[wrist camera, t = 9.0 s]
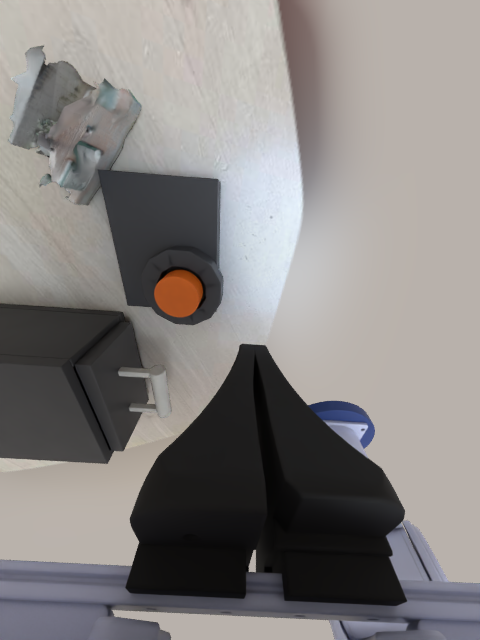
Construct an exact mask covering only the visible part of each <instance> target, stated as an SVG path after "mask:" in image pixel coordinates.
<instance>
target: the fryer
mask: <svg viewBox="0 0 480 640" xmlns="http://www.w3.org/2000/svg"><path fill="white" fill-rule="evenodd" d="M119 322H125V320H124V315H123V312H112V311H98V310H84V309H69V308H55V307H41V306H26V305H12V304H0V458H15V459H32V460H50V461H68V462H85V463H104V464H105V463H106V464H108V462H109V460H110V458H111V456H112V453H113V452H114V451H112V450H111V448H110V446H109V443H108V441H107V439H106V437H105V434H102V432H101V430H100V427H99V425H98V423H97V421H96V418H95V416H94V414H93V412H92V409H91V407H90V405H89V403H88V400H87V398H86V396H85V394H84V391H83V389H82V387H81V385H80V382H79V380H78V378H77V376H76V373H75V371H74V369H73V367H74V366H75V365H74V364H75V363H76V362H77V361H78V360H80V359H81V358H82V357H83V356H84V355H85V354H86V353H87V352H88V351H89V350H90V349H91V348H92V347H93V346H94V345H96V344H97V343H98V342H99V341H100V340H101V339H102V338H103V337H104V336H105V335H106V334H107V333H108V332H109V331H110V330H111V329H113V328H114V327H115V326H116V325H117V324H118V323H119Z"/></svg>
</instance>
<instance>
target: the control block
mask: <svg viewBox="0 0 480 640" xmlns="http://www.w3.org/2000/svg"><path fill="white" fill-rule="evenodd" d="M98 174H99V178H100V183H101V187H102V192H103V196H104V200H105V205H106V209H107V214H108V218H109V223H110V227H111V232H112V236H113V241H114V245H115V250H116V254H117V259H118V263H119V268H120V272H121V277H122V281H123V286H124V290H125V295H126V299H127V304H128V305H129V306H143V307H152V308H153V310H154V311H155V312H156V313H157V314H158V315H160V316H161V317H163V318H165V319H167V320H169V321H171V322H173V323H175V324H185V325H195V324H197V323H200V322H202V321H204V320H207V319H209V318H211V317H212V315H213V314H214V312H216V310H217V308H218V306H219V305H220V303H221V300H222V295H223V276H222V274H221V272H220V270H219V241H220V187H221V182H220V181H219V180H218V179H208V178H196V177H183V176H171V175H159V174H147V173H134V172H122V171H110V170H98ZM173 270H186V271H189V272H191V273H193V274H194V275H195V276H196V277H197V278H198V279H199V280H200V282H201V284H202V287H203V296H202V298H201V301H200V303H199V305H198V307H197V309H196V310H195V312H194V313H192V314H191V315H189V316H186V317H174V316H171V315H168V314H167V313H165V312H164V311H162V310H161V309H160V307H159V306H158V305H157V303H156V300H155V297H154V290H155V287H156V285H157V283H158V282H159V281H160V280H161V279H162V278H163V277H165V276H166V275H167V274H168V273H169V272H171V271H173Z"/></svg>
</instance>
